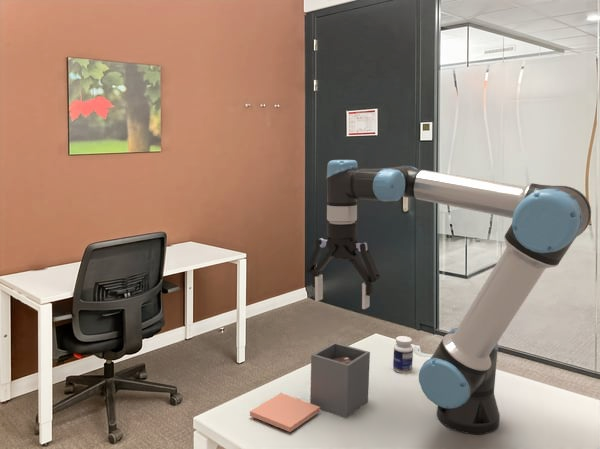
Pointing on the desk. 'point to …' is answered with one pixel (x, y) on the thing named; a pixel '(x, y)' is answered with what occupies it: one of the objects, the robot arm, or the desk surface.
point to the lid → (285, 412)
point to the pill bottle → (403, 355)
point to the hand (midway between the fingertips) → (341, 303)
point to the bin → (339, 379)
